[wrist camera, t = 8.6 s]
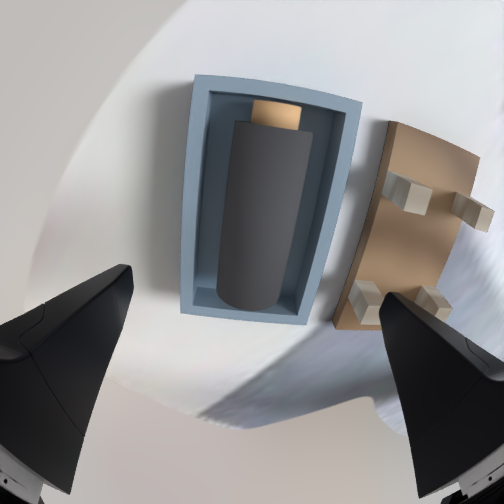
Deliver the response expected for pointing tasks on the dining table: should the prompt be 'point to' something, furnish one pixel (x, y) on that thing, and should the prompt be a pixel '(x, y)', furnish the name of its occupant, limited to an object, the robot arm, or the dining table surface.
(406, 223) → the block
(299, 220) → the tray
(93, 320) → the robot arm
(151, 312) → the dining table surface
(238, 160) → the tan-capped grey cylinder
